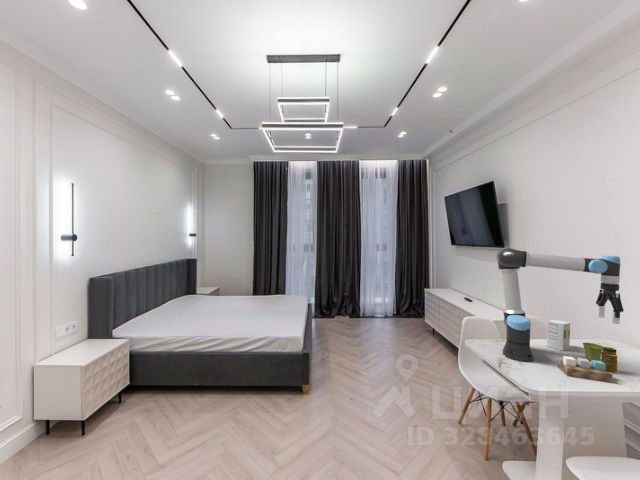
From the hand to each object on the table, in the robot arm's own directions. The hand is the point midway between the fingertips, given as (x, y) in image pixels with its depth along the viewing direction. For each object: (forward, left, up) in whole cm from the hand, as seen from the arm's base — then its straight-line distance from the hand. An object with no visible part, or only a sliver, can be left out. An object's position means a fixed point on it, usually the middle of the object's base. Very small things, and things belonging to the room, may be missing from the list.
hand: (608, 320), depth 165 cm
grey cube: (-19, -21, -22) cm, 36 cm away
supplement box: (-15, +23, -25) cm, 37 cm away
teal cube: (-13, -21, -22) cm, 33 cm away
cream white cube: (-25, -21, -22) cm, 39 cm away
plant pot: (-4, +6, -25) cm, 26 cm away
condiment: (-4, -9, -25) cm, 27 cm away
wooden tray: (-19, -21, -25) cm, 38 cm away
